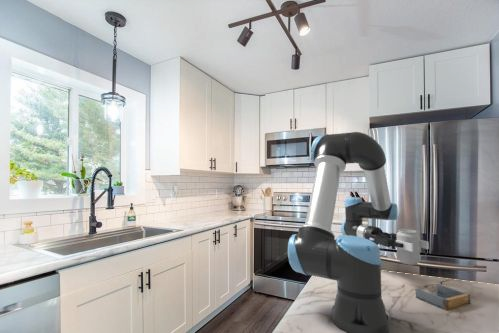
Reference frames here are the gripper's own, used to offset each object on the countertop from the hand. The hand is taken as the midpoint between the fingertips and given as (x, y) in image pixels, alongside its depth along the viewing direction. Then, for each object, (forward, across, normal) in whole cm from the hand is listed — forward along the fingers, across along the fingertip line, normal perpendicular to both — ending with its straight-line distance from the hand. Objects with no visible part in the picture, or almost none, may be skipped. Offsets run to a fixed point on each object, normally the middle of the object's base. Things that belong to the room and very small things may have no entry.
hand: (420, 246), depth 98 cm
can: (-5, 0, -7) cm, 9 cm away
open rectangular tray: (+7, 0, -16) cm, 18 cm away
